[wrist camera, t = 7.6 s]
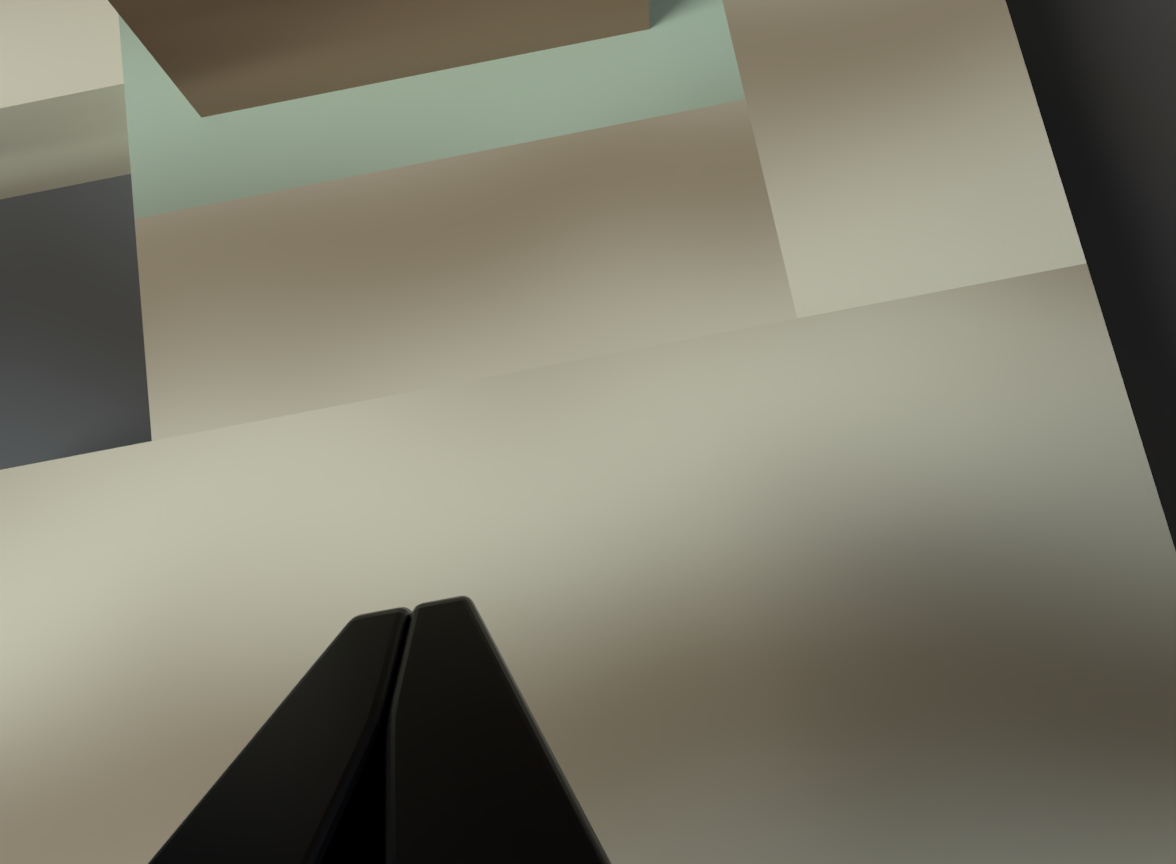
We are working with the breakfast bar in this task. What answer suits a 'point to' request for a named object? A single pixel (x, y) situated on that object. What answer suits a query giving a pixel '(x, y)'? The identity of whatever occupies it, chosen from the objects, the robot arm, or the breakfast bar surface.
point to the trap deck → (586, 434)
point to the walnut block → (350, 40)
